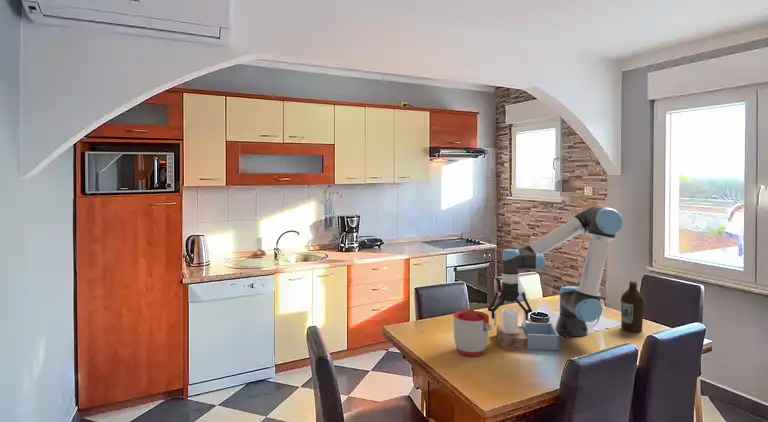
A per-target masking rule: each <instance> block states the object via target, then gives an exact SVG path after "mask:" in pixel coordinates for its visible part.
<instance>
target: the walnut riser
mask: <svg viewBox="0 0 768 422" xmlns="http://www.w3.org/2000/svg"><path fill="white" fill-rule="evenodd" d="M496 338H497V341H498V345H499V349H504V350H505V349H507V350H525V351H526V350H527V342H528V339H527V337H526V334H525V332H524V330H523V328H522V325H518V326H517V333H515V334H507V333H504V332H503V331H502V324H500V325H499V324H498V325H497V324H496Z"/></svg>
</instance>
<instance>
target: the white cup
mask: <svg viewBox="0 0 768 422" xmlns="http://www.w3.org/2000/svg"><path fill="white" fill-rule="evenodd" d="M500 316H501V326H502V331H503V332H504V333H507V334H515V333H517V326H519V310H517V309H513V308H503V309H501V315H500Z"/></svg>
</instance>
